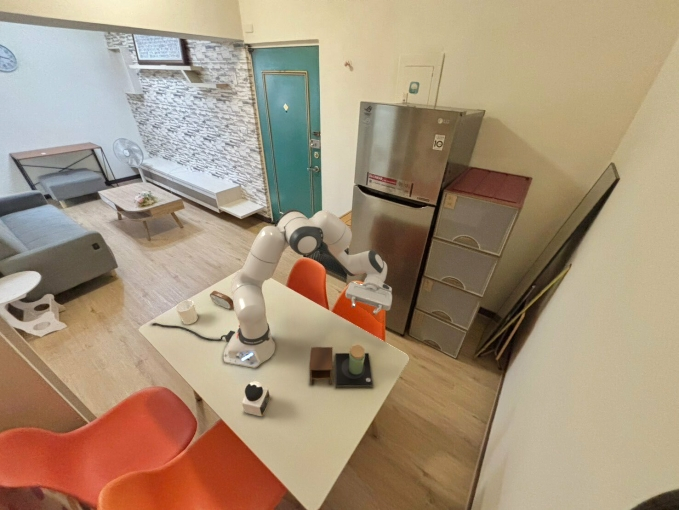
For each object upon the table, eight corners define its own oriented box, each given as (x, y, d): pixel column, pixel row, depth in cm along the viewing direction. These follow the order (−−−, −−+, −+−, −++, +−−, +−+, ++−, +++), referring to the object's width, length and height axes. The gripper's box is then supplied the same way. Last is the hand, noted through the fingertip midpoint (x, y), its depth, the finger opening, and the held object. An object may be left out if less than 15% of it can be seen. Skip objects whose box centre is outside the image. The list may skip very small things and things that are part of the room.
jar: (348, 374, 110) (350, 357, 104) (347, 360, 115) (349, 344, 109) (363, 374, 110) (366, 357, 104) (362, 360, 116) (364, 344, 109)
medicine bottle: (262, 417, 98) (258, 400, 91) (244, 412, 99) (238, 395, 92) (270, 398, 103) (266, 380, 97) (253, 394, 104) (248, 376, 98)
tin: (236, 308, 142) (233, 296, 137) (231, 312, 140) (228, 300, 135) (215, 299, 147) (212, 288, 142) (211, 303, 145) (207, 291, 140)
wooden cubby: (310, 384, 108) (309, 369, 102) (311, 362, 117) (311, 347, 111) (332, 384, 109) (332, 368, 103) (332, 362, 117) (332, 347, 111)
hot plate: (335, 388, 108) (335, 384, 106) (335, 355, 120) (335, 351, 118) (372, 387, 108) (373, 383, 106) (368, 355, 121) (368, 351, 119)
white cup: (202, 318, 136) (197, 303, 130) (187, 327, 130) (181, 313, 125) (193, 311, 139) (187, 297, 134) (178, 321, 134) (172, 306, 128)
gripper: (351, 276, 120) (340, 297, 110) (395, 289, 115) (388, 313, 105) (350, 285, 124) (340, 307, 114) (392, 298, 119) (386, 322, 109)
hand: (363, 310), depth 109 cm, fingers open, 8 cm apart
